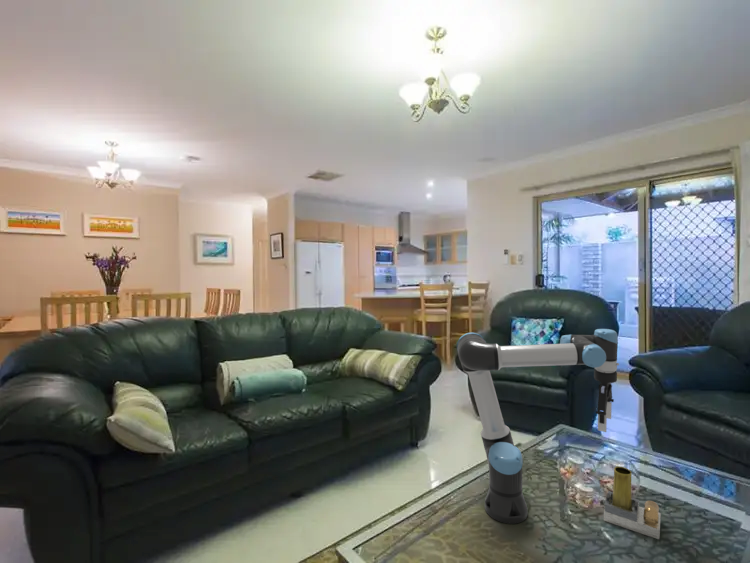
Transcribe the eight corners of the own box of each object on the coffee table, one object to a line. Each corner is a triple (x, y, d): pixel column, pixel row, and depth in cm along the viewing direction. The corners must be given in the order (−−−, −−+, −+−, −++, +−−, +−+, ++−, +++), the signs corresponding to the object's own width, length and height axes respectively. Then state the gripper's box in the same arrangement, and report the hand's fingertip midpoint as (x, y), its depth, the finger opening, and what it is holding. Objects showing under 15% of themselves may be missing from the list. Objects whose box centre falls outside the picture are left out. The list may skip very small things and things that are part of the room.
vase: (635, 515, 136) (636, 476, 135) (616, 513, 137) (616, 474, 136) (627, 504, 142) (628, 466, 141) (609, 502, 143) (609, 465, 142)
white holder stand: (603, 520, 139) (603, 500, 139) (607, 505, 147) (607, 486, 147) (659, 539, 129) (659, 518, 129) (660, 522, 137) (660, 502, 137)
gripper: (612, 381, 137) (611, 439, 139) (620, 363, 157) (619, 415, 158) (588, 377, 142) (587, 434, 143) (599, 360, 161) (598, 410, 163)
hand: (604, 424), depth 151 cm, fingers open, 13 cm apart
